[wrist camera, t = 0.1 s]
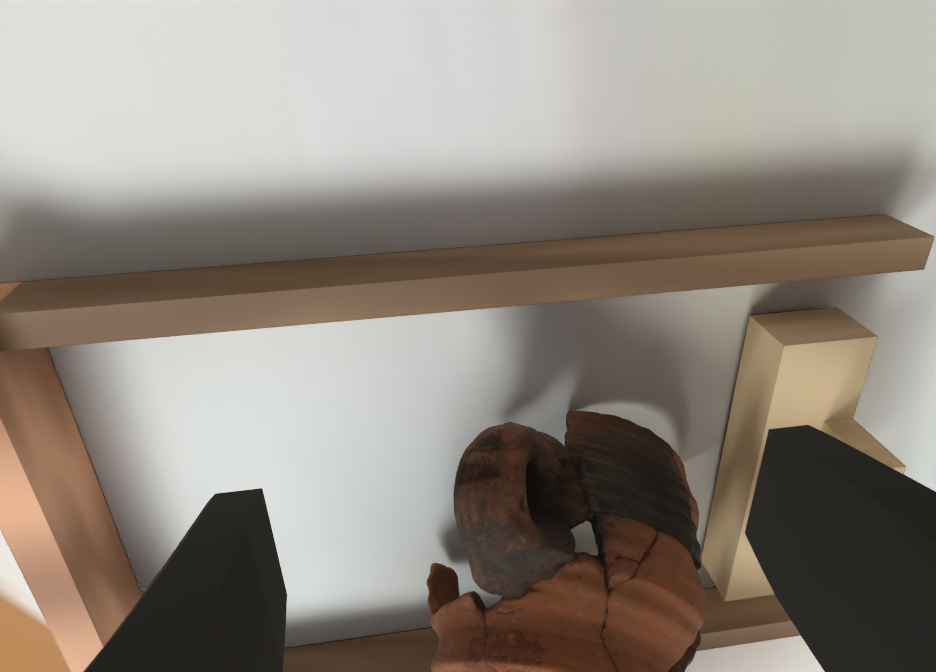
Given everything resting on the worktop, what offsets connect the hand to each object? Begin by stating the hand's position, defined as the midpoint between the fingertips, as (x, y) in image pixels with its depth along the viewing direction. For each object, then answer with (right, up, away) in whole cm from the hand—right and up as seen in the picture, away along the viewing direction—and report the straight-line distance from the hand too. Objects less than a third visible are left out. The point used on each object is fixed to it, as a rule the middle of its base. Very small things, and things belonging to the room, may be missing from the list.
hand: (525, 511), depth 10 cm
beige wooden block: (+10, -1, +15) cm, 18 cm away
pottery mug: (+2, -1, +15) cm, 15 cm away
